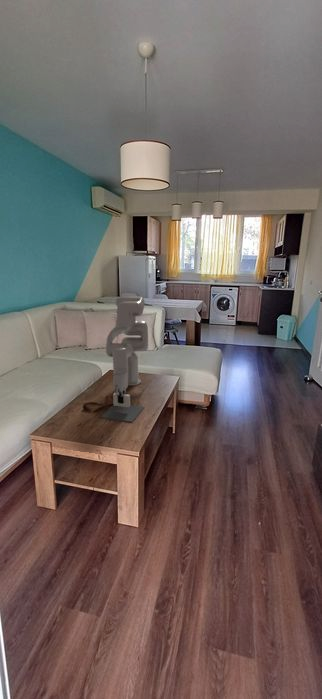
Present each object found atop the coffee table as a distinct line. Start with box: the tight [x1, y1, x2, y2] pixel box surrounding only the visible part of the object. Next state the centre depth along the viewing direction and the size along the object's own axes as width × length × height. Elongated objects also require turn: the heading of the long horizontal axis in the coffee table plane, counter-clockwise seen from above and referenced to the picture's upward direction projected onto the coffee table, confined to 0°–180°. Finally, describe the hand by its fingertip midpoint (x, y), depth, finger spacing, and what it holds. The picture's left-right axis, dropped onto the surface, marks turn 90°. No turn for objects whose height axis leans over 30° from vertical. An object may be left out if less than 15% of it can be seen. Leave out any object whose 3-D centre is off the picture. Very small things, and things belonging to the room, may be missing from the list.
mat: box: [100, 404, 145, 424], centre depth 179 cm, size 18×18×1 cm
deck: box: [112, 392, 131, 407], centre depth 178 cm, size 2×9×6 cm, turn 73°
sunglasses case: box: [82, 394, 114, 414], centre depth 187 cm, size 18×7×7 cm
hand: (121, 401), depth 178 cm, fingers closed on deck, 2 cm apart
